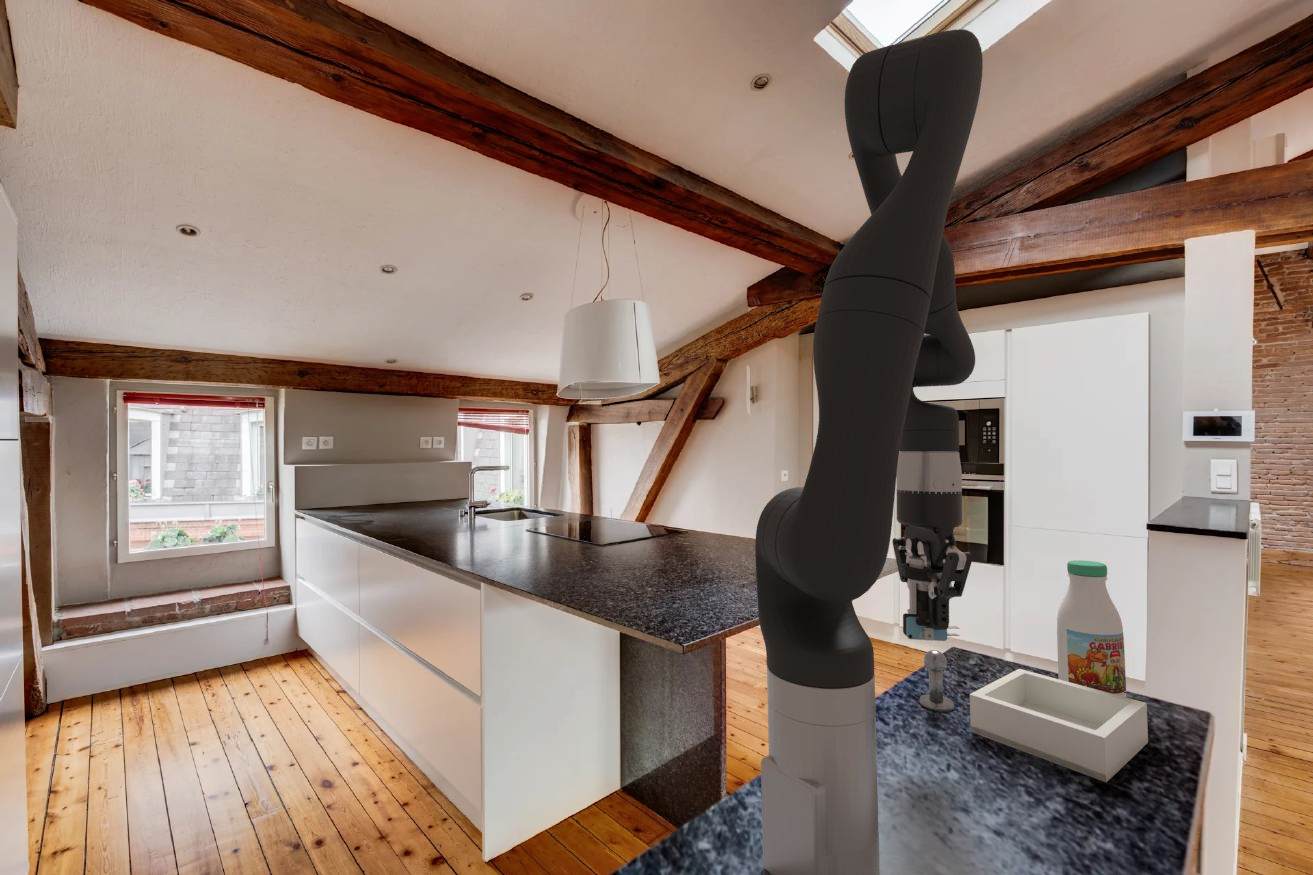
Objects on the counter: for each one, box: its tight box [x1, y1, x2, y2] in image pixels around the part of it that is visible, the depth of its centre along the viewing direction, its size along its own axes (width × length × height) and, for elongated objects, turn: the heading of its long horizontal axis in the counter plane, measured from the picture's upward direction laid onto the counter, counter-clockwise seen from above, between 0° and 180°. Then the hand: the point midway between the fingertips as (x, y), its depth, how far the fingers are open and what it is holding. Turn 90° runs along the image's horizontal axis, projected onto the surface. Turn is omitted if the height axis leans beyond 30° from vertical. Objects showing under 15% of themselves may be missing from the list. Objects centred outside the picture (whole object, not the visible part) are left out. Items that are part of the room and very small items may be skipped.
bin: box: [969, 668, 1149, 784], centre depth 72 cm, size 14×14×5 cm
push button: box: [902, 556, 961, 642], centre depth 72 cm, size 7×5×10 cm
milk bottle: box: [1056, 559, 1127, 698], centre depth 82 cm, size 8×8×20 cm
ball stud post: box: [919, 649, 955, 713], centre depth 82 cm, size 4×4×8 cm
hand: (929, 623), depth 72 cm, fingers closed on push button, 3 cm apart
